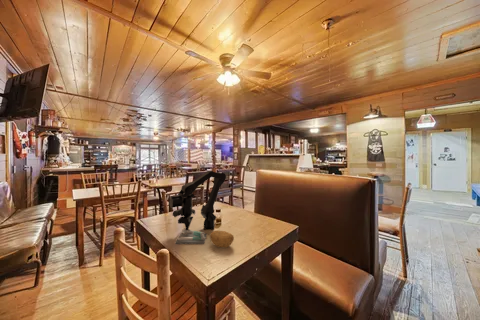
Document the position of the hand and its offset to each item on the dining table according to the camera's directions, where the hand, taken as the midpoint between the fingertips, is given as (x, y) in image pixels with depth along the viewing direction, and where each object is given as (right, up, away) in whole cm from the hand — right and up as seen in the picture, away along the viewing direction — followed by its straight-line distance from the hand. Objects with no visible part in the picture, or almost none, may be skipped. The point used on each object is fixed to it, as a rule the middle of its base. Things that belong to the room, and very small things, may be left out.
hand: (187, 229), depth 116 cm
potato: (+23, -4, -14) cm, 27 cm away
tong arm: (+5, -1, -6) cm, 8 cm away
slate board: (+5, -3, -7) cm, 9 cm away
